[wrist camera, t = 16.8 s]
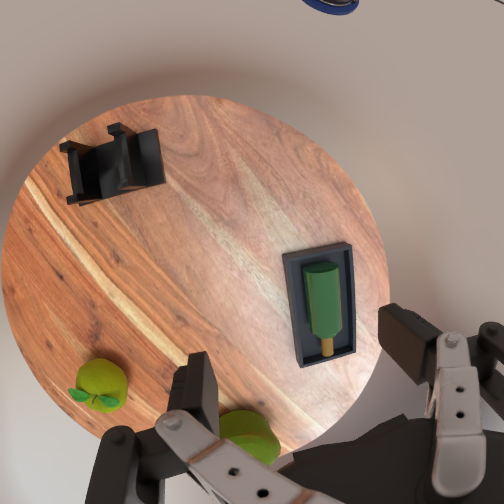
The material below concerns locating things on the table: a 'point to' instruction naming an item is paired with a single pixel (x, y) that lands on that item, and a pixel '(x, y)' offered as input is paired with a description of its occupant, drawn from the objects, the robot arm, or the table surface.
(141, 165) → the rack
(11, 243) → the table surface
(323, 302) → the green bottle
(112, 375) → the fruit
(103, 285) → the table surface
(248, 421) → the apple
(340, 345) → the tray
